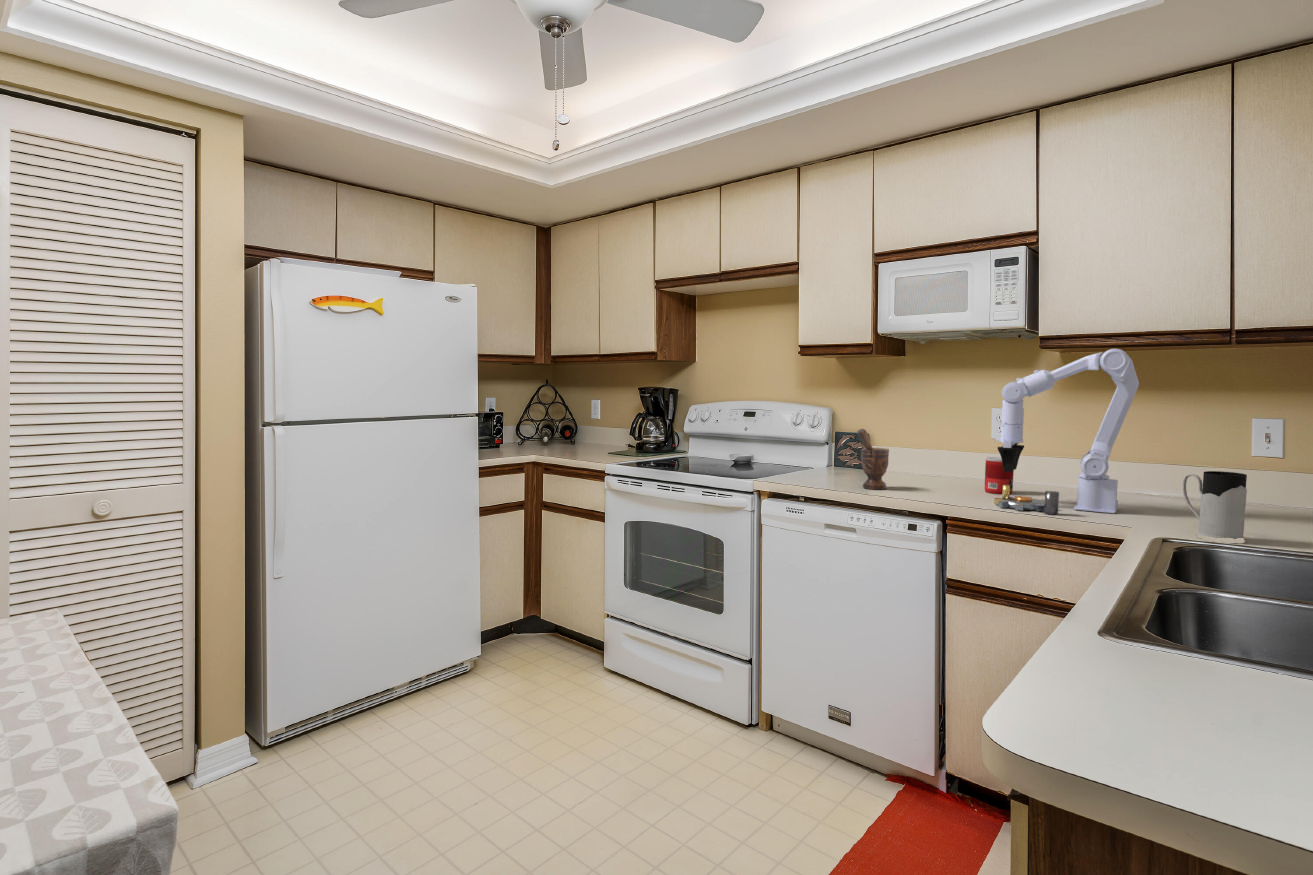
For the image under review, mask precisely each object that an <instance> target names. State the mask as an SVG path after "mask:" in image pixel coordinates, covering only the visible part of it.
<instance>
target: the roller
mask: <svg viewBox="0 0 1313 875" xmlns="http://www.w3.org/2000/svg"><path fill="white" fill-rule="evenodd" d="M1059 498H1060V492H1059V491H1056V490H1045V491H1044V500H1045V507H1044V511H1043V513H1044V515H1048V516H1058V515H1059V504H1060V503H1059V502H1060V499H1059Z"/></svg>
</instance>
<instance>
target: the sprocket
mask: <svg viewBox="0 0 1313 875" xmlns="http://www.w3.org/2000/svg"><path fill="white" fill-rule="evenodd" d="M1001 496H1002V497H1001V498H1000V497H995V498H994V499H993V501H994V502H993V504H994V505H997V507H998V508H1009V509H1015V511H1022V512H1023V511H1024V510H1026V511H1037V512H1044V507H1045V499H1037V498H1033V497H1032V496H1026V495H1025V496H1024V495H1015V496H1014V497H1012V496H1011V494H1010V485H1003V492H1002V494H1001Z"/></svg>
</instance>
